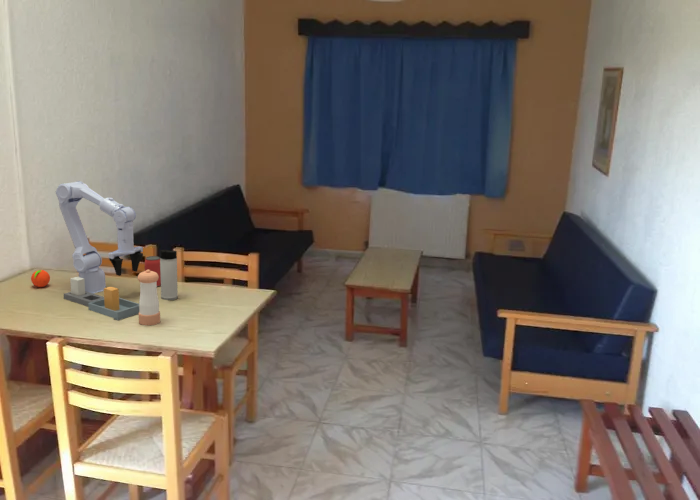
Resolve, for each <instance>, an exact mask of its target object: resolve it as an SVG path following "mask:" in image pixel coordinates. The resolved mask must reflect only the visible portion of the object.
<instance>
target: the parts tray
mask: <svg viewBox="0 0 700 500" xmlns="http://www.w3.org/2000/svg"><path fill="white" fill-rule="evenodd" d="M87 307H88V311H92V312H94V313H98V314H100V315H103V316H107V317H109V318H112V319H113V320H115V321H120V320H121V321H122V320H124V319H126V318H130V317H132V316H133V317H134V316H136V315H139V312H140V310H139V303H138V302H135V301H131V300H128V299H124V298H121V297H119V308H120V309H119V310H116V311H114V310H111V309H108V308H105V303H104V299H101V300H98V301H94V302H91V303H88V306H87Z"/></svg>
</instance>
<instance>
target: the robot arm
mask: <svg viewBox="0 0 700 500" xmlns="http://www.w3.org/2000/svg"><path fill="white" fill-rule="evenodd" d="M55 195H56V197H57V200H58V204H59V205H58V206H59V210H60V212H61V215H62V216H63V220H64V223H65V225H66V227H67V231H68V234H69V235H70V238H71V241H72V243H73V246H74V252H73V253H72V254H71V256H72V260H73V261H72V263H73V264H72V265H73V267H74V269H75V270H76V272H77V273H78V277H80V278H83V279H84V280H85V291H86V292H90V293H93V294H97V293H101V292H104V288H107V287H106V285H107V284H106V274H105V271H104V270H103V268H101V265H102V263H103V257H102V256H101V254H100V253H99V252H98V249H97V248H96V247H94V246H92V245H91V243H90V241H89V239H88V235H87V234H86V231H85V229H84V226H83V224H82V223H83V222H82V220H81V219H80V215H79V213H78V210H77V205H78V204H79V202H81V200H82V199H85V200H86V201H89V202H90V203H93V204H95V205H97V206H99V210H100V211H102V212H103V213H105V214H107V215H108V216H110V217H112V219H113V221H114V222H115V226H116V230H117V231H116V232H117V234H116V235H117V249H116V250H114V251H112V252H111V251H110V252H108V260H109V262H110V263H111V264H112V266H113V269H114V272H115V275H116V276H119V277H120V276H122V270H123V269H122V266H123V262H124V259H123V258H121V257H124V256H130V260H131V261H130V262H131V270H132V271H133V272H138V270H139V265H140V262H141V260H142V259H143V256H144V254H143V252H144V251H143V250H144V248H143V246H140V245H139V246H134V244H135V243H134V222H133V221H135V220H136V217H137V213H136V211H135V209H134V208H132V206H125V205H124V204H123V203H119V202H118V201H116V200H115V199H114V198H113V197H103V196H102V195H101V194H99V193H98V192H96V191H94V190H93V189H92V188H90V187H89V186H88V184H87V183H84V182H83V181H80V180H76V181H71V182H67V183H66V182H65V183H64V182H63V183H60V184H58V186H57V188H56V191H55Z"/></svg>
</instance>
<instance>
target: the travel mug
mask: <svg viewBox="0 0 700 500" xmlns="http://www.w3.org/2000/svg"><path fill="white" fill-rule="evenodd" d="M177 254H178V252H177V250H171V249H160V250H159V255H160V256H159V257H160V258H159V259H160V271H161V285H160V298H161V299H162V300H164V301H169V300H173V301H176V300H178V296H179V295H178V293H179V292H178V257H177V256H178V255H177ZM175 299H176V300H175Z"/></svg>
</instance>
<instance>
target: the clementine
mask: <svg viewBox="0 0 700 500" xmlns="http://www.w3.org/2000/svg"><path fill="white" fill-rule="evenodd" d="M50 280H51V276H50V273H49V272H48V271H46V270H44V269H37V270H35V271H34V272H32V274H31V277H30V281H31V283H32V285H34V286H35V287H38V288H44V287H46V286H47V285H49V283H50V282H51V281H50Z"/></svg>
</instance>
